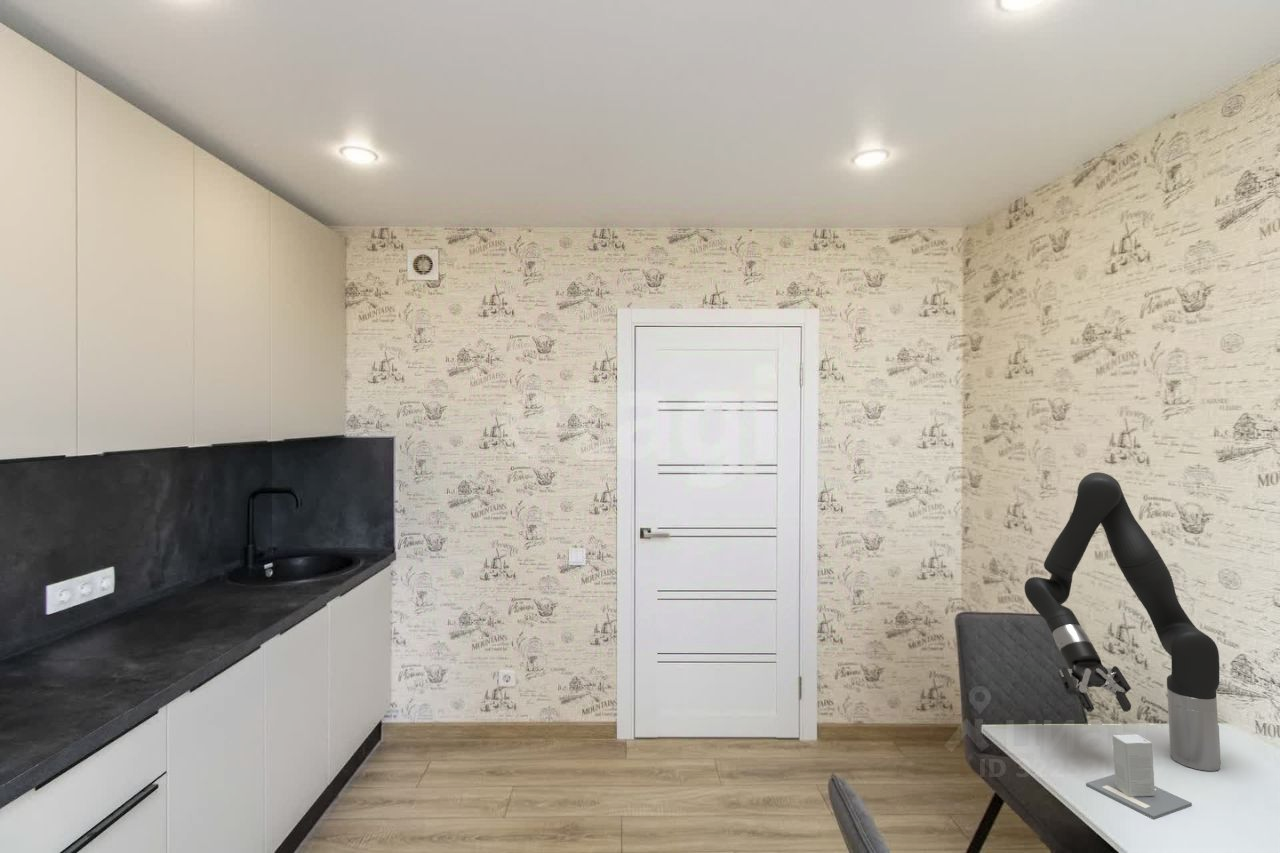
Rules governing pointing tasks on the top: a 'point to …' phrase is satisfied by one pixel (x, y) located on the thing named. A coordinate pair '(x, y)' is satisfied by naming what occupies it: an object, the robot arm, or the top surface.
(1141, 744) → the skincare box
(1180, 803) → the letter card
